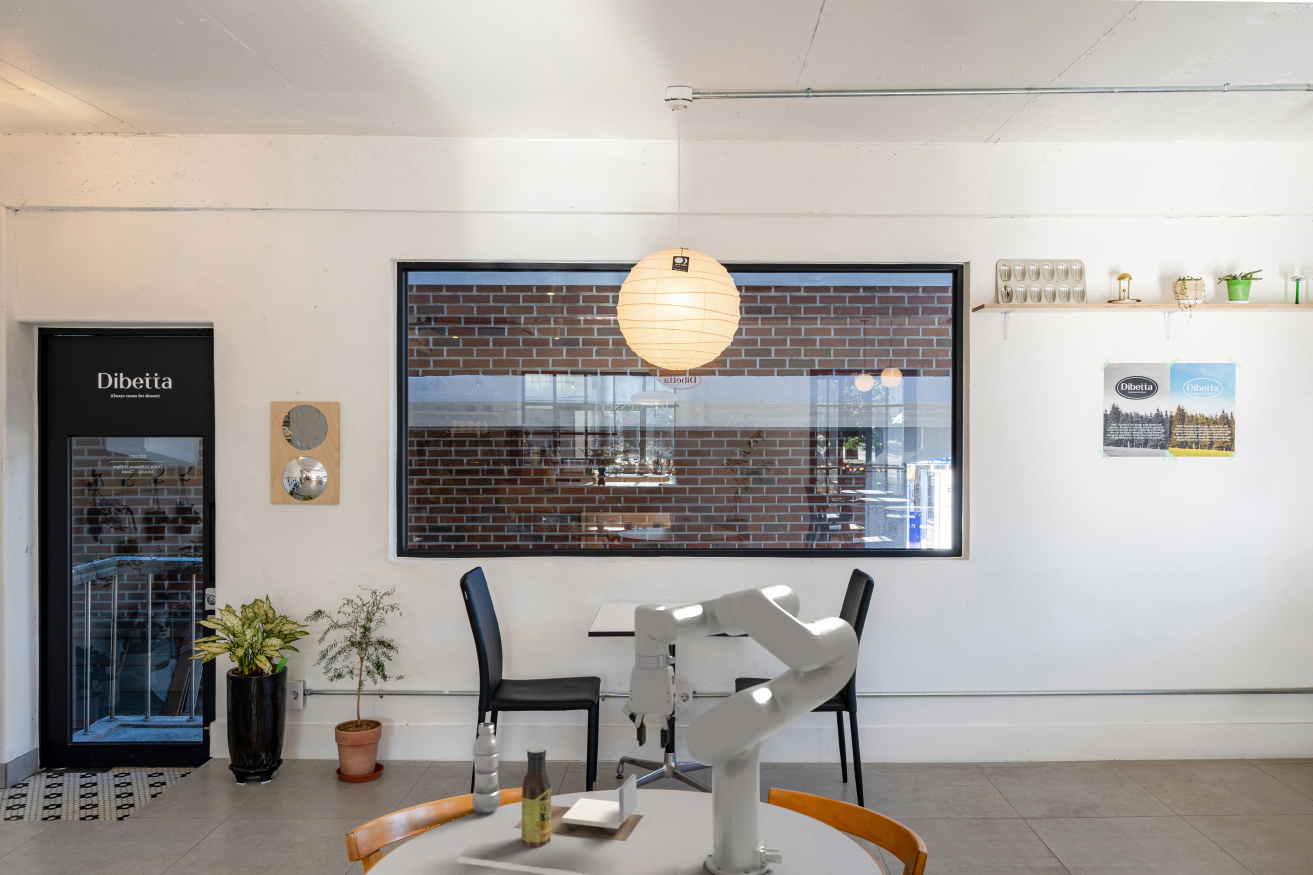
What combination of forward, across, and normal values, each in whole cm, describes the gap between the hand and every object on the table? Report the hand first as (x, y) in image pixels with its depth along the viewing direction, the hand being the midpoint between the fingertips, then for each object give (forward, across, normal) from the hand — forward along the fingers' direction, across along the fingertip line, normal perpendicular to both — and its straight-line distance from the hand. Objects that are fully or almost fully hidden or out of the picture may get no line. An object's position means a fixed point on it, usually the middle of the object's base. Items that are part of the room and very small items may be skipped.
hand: (653, 744), depth 173 cm
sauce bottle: (+20, +23, +11) cm, 32 cm away
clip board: (+19, +18, 0) cm, 26 cm away
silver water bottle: (+20, +42, -2) cm, 46 cm away
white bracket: (+18, +13, 0) cm, 22 cm away
